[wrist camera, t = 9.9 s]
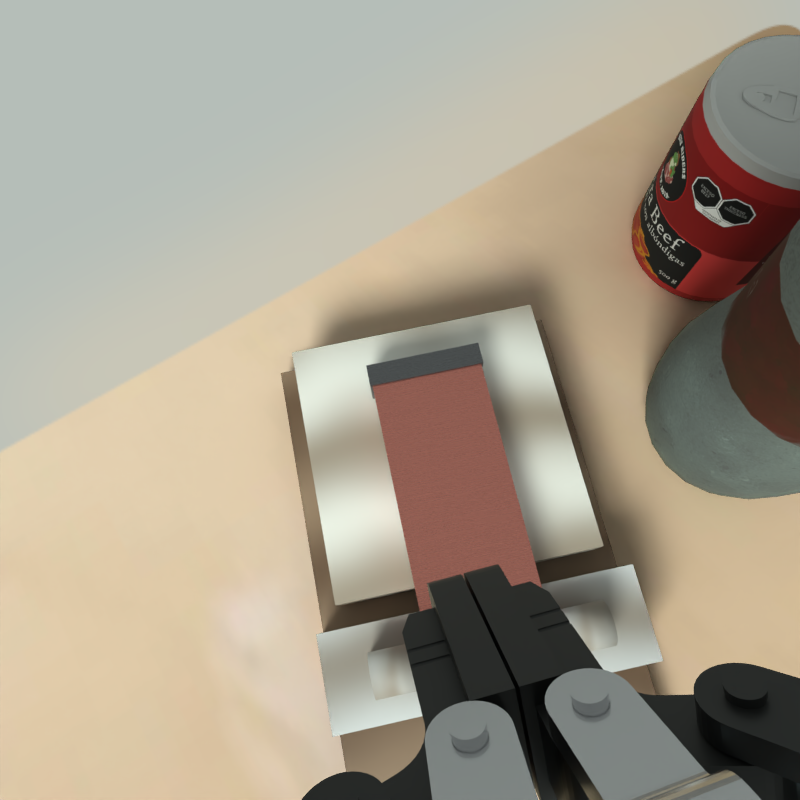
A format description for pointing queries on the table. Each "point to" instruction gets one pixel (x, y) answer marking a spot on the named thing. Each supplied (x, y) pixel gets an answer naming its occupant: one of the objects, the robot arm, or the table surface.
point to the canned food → (727, 177)
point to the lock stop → (449, 468)
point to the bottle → (736, 388)
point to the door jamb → (383, 536)
